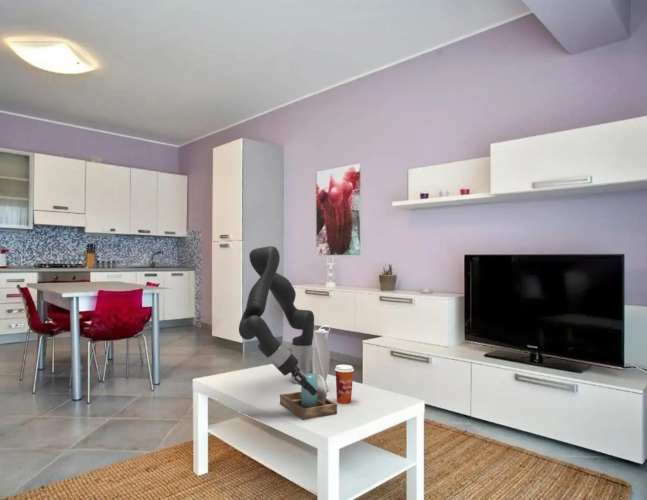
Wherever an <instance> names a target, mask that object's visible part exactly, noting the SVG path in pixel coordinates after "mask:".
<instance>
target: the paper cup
mask: <svg viewBox="0 0 647 500" xmlns="http://www.w3.org/2000/svg"><path fill="white" fill-rule="evenodd" d="M334 371H335V383H336V384H335V385H336V386H335V387H336V388H335V389H336V402H337V403H338V404H343V405H347V404H350V403H351V402H352V395H353V381H354V380H353V378H354V377H353V376H354V371H355V369H354V367H353V366H352V365H350V364H337V365H336V366H335V368H334Z"/></svg>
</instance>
